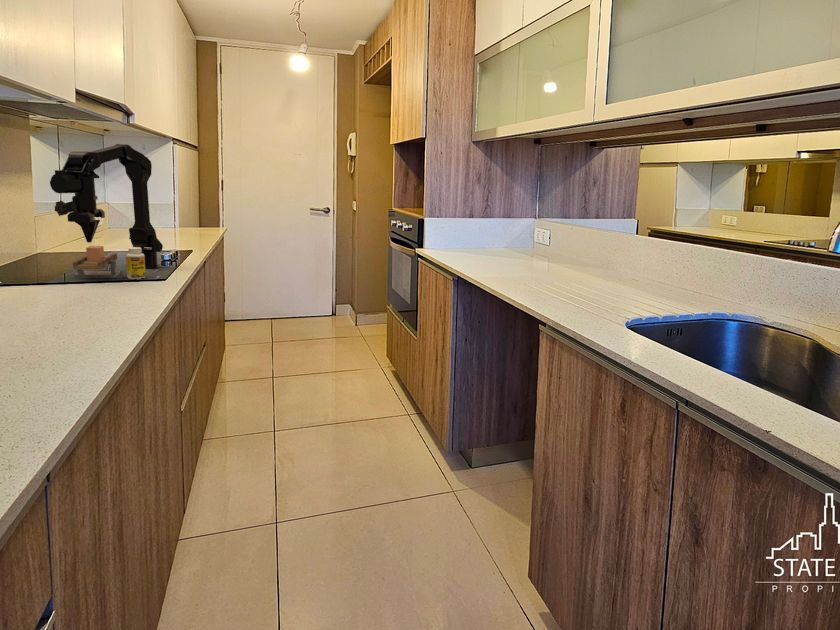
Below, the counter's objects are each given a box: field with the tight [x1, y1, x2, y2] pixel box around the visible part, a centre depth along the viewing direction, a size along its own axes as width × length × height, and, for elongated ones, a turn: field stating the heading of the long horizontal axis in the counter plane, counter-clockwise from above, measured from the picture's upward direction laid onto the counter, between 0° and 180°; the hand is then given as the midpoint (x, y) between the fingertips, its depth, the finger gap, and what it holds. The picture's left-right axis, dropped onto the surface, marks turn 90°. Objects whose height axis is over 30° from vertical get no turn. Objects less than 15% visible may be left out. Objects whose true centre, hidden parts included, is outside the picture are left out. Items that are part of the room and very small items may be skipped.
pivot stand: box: [73, 260, 121, 279], centre depth 197 cm, size 8×12×5 cm, turn 105°
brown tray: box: [72, 252, 118, 271], centre depth 196 cm, size 22×8×2 cm, turn 15°
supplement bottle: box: [125, 246, 147, 280], centre depth 195 cm, size 6×6×10 cm
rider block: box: [85, 245, 105, 262], centre depth 196 cm, size 5×4×4 cm
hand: (89, 242), depth 189 cm, fingers closed
